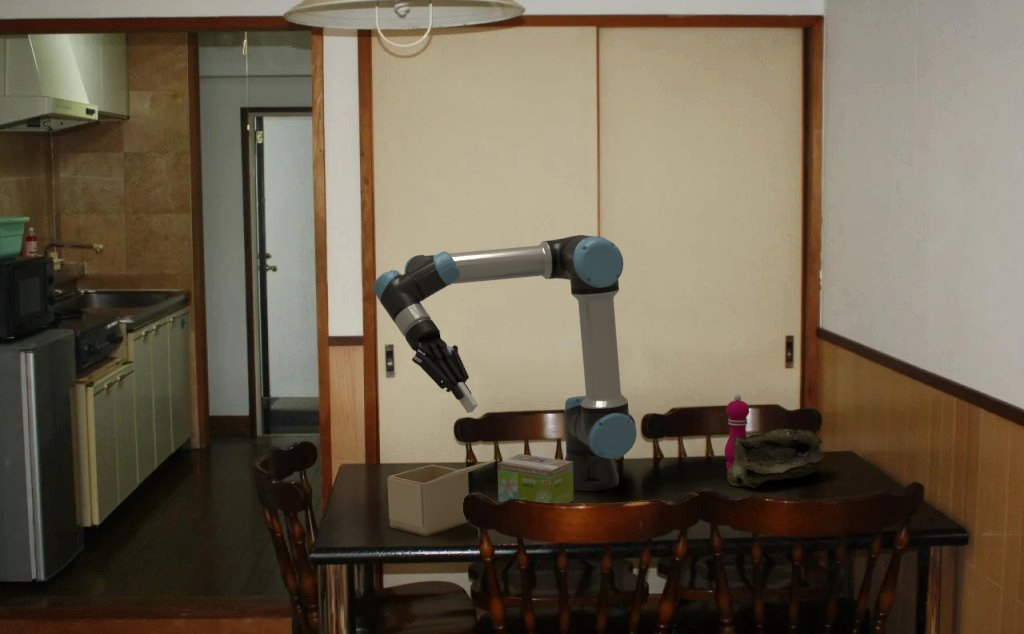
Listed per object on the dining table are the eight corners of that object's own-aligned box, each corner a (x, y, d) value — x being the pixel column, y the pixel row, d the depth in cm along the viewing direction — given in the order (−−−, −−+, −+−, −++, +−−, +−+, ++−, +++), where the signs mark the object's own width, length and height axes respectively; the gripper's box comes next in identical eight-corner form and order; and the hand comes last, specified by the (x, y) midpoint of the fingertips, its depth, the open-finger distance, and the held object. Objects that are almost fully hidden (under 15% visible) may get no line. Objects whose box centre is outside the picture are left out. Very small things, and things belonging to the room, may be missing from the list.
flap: (467, 470, 280) (495, 459, 273) (467, 472, 280) (495, 461, 273) (426, 482, 271) (454, 471, 264) (426, 484, 270) (454, 472, 264)
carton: (434, 512, 291) (432, 463, 290) (471, 521, 283) (469, 471, 281) (386, 527, 280) (384, 476, 279) (423, 537, 272) (421, 485, 270)
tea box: (497, 524, 280) (495, 461, 278) (521, 513, 288) (519, 452, 286) (552, 533, 272) (551, 469, 270) (575, 522, 280) (574, 459, 278)
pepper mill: (756, 470, 321) (756, 396, 319) (731, 472, 320) (730, 398, 317) (744, 464, 328) (744, 391, 326) (720, 466, 326) (719, 393, 324)
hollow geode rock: (818, 491, 316) (795, 443, 325) (841, 466, 307) (817, 416, 315) (726, 502, 306) (705, 452, 314) (747, 476, 296) (725, 424, 305)
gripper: (431, 335, 283) (484, 414, 274) (389, 342, 274) (443, 424, 264) (446, 314, 279) (501, 393, 270) (404, 321, 269) (460, 403, 260)
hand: (472, 408), depth 267 cm, fingers closed
